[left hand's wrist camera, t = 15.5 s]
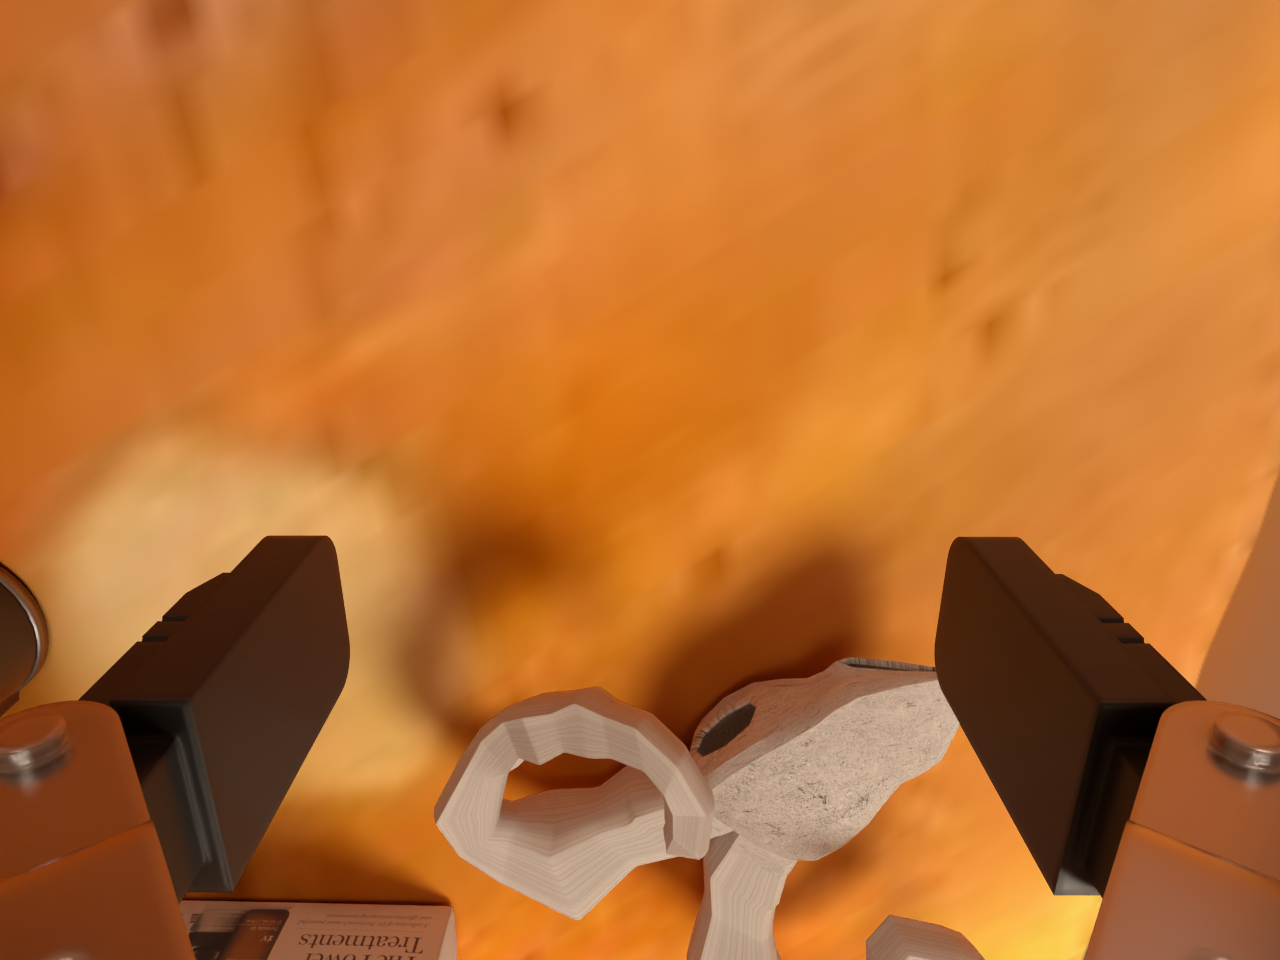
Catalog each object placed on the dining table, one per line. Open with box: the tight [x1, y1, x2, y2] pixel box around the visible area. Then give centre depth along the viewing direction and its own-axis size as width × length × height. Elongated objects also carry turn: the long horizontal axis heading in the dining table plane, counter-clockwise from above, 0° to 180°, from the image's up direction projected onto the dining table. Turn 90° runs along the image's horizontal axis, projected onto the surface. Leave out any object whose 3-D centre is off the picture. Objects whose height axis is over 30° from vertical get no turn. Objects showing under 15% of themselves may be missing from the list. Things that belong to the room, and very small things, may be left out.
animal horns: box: [434, 657, 985, 960], centre depth 45 cm, size 28×26×12 cm
